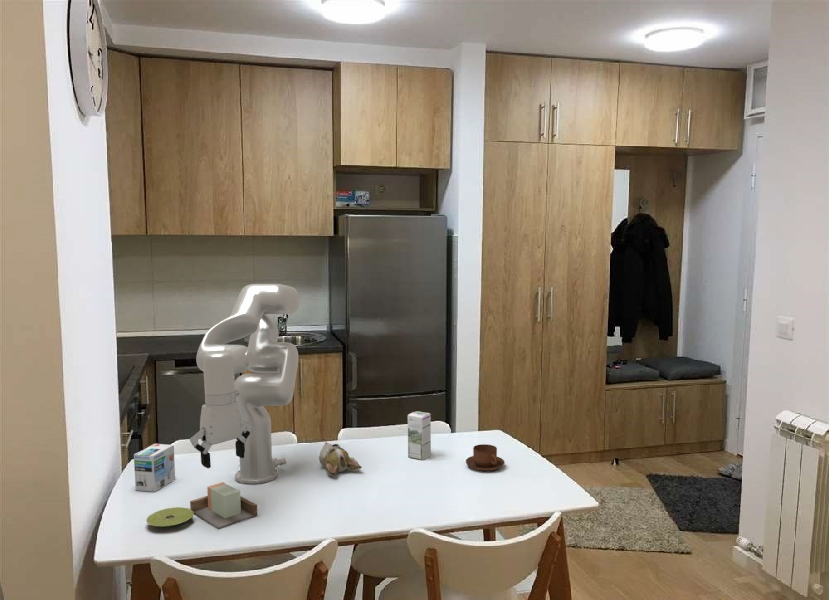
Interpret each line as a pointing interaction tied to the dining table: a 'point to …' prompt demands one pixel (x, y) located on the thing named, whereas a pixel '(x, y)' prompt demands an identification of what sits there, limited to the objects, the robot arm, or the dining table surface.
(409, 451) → the syrup box
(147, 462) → the light bulb box
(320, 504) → the dining table surface
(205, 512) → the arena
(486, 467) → the cup and saucer
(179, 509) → the green flat disc
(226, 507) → the peach green box
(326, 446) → the ceramic sculpture
